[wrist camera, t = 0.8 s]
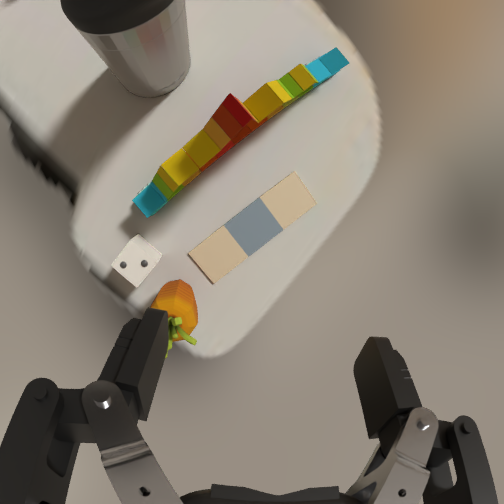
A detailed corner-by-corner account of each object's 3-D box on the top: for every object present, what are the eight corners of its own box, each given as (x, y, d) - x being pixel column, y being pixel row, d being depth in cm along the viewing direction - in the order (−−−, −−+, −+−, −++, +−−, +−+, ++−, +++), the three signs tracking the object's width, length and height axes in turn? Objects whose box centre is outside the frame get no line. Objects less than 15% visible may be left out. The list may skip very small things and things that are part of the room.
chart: (319, 57, 33) (372, 6, 19) (334, 74, 34) (394, 31, 20) (137, 195, 34) (93, 201, 20) (154, 214, 35) (120, 233, 20)
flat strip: (188, 252, 36) (188, 253, 36) (294, 171, 36) (294, 171, 36) (213, 283, 37) (213, 283, 37) (316, 203, 37) (317, 203, 37)
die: (120, 257, 35) (110, 265, 31) (138, 233, 35) (130, 239, 31) (143, 277, 36) (137, 288, 32) (162, 254, 36) (157, 262, 32)
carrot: (184, 258, 36) (171, 304, 22) (207, 289, 38) (209, 351, 23) (153, 279, 36) (124, 335, 22) (176, 310, 38) (163, 377, 23)
